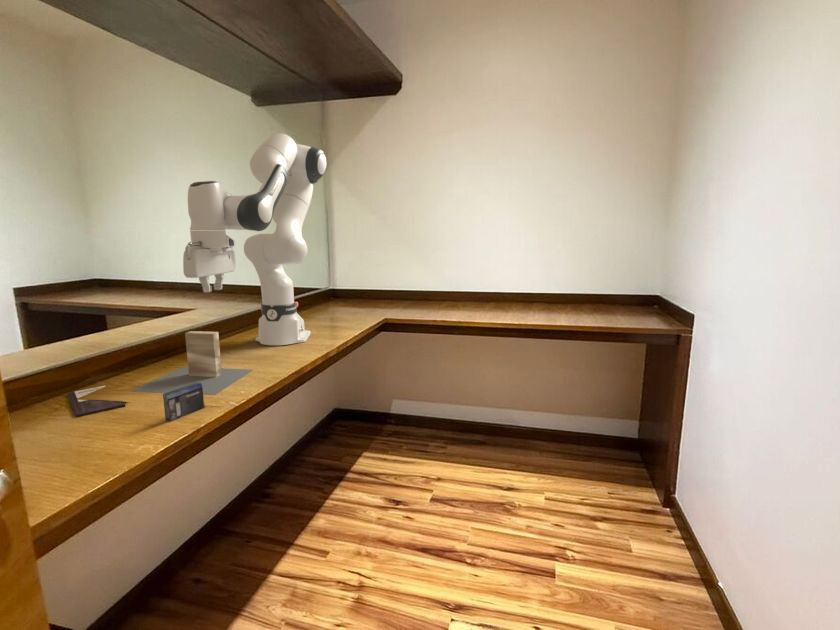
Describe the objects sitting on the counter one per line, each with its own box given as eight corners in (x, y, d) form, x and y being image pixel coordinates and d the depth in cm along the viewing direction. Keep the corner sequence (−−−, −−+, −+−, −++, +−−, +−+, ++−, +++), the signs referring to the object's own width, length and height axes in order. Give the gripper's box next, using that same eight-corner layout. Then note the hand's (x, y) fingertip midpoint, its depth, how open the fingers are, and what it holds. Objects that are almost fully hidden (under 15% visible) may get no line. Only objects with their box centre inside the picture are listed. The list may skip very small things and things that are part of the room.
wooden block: (195, 372, 122) (191, 330, 120) (222, 373, 121) (218, 331, 119) (189, 375, 119) (184, 333, 117) (216, 376, 118) (213, 334, 116)
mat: (182, 368, 127) (181, 366, 127) (254, 371, 125) (253, 369, 125) (130, 393, 107) (130, 391, 107) (215, 397, 105) (215, 394, 105)
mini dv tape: (170, 422, 92) (167, 395, 91) (165, 420, 92) (162, 394, 91) (204, 408, 99) (202, 383, 98) (199, 407, 100) (197, 382, 98)
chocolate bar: (75, 415, 93) (67, 392, 106) (76, 419, 94) (68, 396, 107) (125, 404, 99) (111, 384, 112) (125, 408, 100) (112, 387, 113)
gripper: (197, 242, 110) (202, 296, 112) (238, 240, 130) (241, 286, 132) (173, 241, 110) (179, 295, 113) (218, 240, 130) (221, 286, 133)
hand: (213, 290), depth 123 cm, fingers open, 4 cm apart
